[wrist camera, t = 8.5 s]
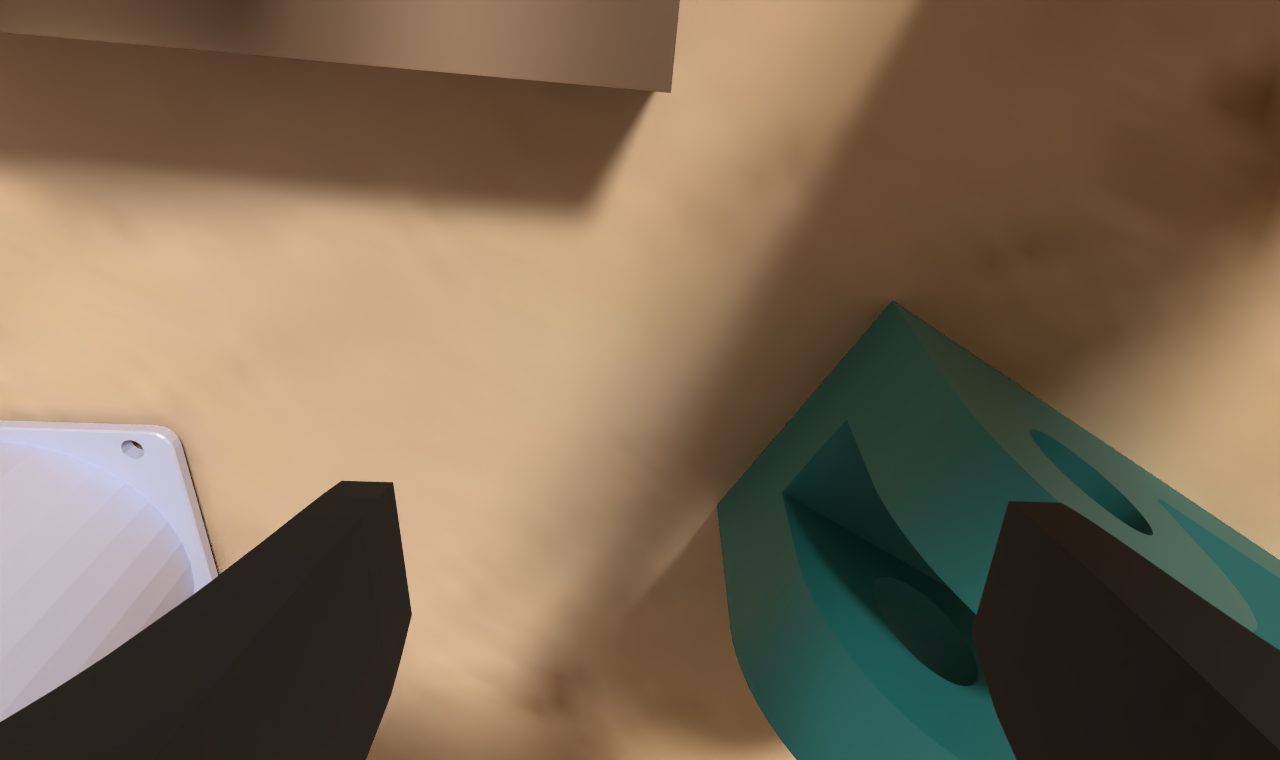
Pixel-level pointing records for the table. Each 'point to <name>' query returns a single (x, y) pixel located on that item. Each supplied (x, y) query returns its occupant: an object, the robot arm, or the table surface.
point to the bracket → (927, 545)
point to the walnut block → (392, 33)
